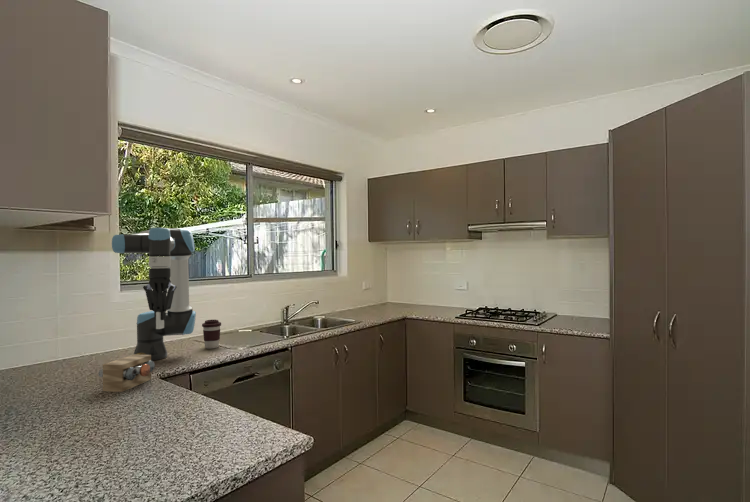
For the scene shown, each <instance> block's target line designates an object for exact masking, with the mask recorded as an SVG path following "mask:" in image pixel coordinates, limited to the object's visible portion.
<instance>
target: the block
mask: <svg viewBox="0 0 750 502" xmlns="http://www.w3.org/2000/svg"><path fill="white" fill-rule="evenodd" d="M147 361H151V355H133V354H130V355H128V356H124V357H121V358H119V359H116V360H112V361H110V362H106V363H103V364H102V369H103V377H102V392H112V393H113V392H114V393H116V392H117V393H122V392H126V391H127V390H130V389H132V388H135V387H137V386H138V385H142V384H144V383H146V382H148V381H151V380H152V372H150V373H149V374H148V375H147V376H141V375H140V374H136V376H135V378H134V379H133V380H127V379H126V378H123V370H124V369H125V370H127V369H128V368H133V366H142V365H143V363H146V362H147Z"/></svg>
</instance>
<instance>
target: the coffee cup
mask: <svg viewBox="0 0 750 502" xmlns="http://www.w3.org/2000/svg"><path fill="white" fill-rule="evenodd" d="M201 324H202V325H201V327H203V328H202V329H203V330H202V334H203V335H202V336H203V342H204V348H205V349H207V350H208V349H209V350H210V349H217V348H219V346H220V338H221V326H222V322H221V321H219V319H208V320H207V319H206V320H205V321H204V322H203V323H201Z"/></svg>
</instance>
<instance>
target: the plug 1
mask: <svg viewBox="0 0 750 502" xmlns="http://www.w3.org/2000/svg"><path fill="white" fill-rule="evenodd" d="M97 374H98V377H99V378H103V368H101V369H99V371H98V373H97ZM135 376H136V369H135V368H128V369H127V370H125V369H124V370H123V378H126V379H127V380H133V379H134V378H135Z"/></svg>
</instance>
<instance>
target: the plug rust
mask: <svg viewBox="0 0 750 502" xmlns="http://www.w3.org/2000/svg"><path fill="white" fill-rule="evenodd" d="M133 368H135V369H136V374H140V375H141V376H147V375H148V374H149V372H150V366H149V365H148V364H143V365H142V366H133Z"/></svg>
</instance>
